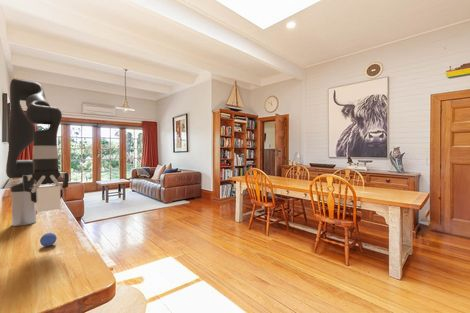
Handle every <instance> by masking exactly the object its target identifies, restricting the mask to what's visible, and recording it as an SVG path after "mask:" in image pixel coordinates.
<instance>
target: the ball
mask: <svg viewBox="0 0 470 313" xmlns="http://www.w3.org/2000/svg"><path fill="white" fill-rule="evenodd" d="M57 240H58V239H57V235H56V234H55V233H54V232H47V233H45V234H43V235H42V236H41V237H40V240H39V243H40V245H41V246H42V247H45V248H46V247H51V246H53V245H54V244H56V242H57Z"/></svg>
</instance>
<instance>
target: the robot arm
mask: <svg viewBox="0 0 470 313" xmlns="http://www.w3.org/2000/svg"><path fill="white" fill-rule="evenodd" d="M9 83H10V85H9V100H10V101H9V103H10V111H9V112H10V115H9V124H8V126H9V127H8V150H7V159H6V165H5V168H6V169H5V174H6V176H7V177H8V178H10V179H22V182H20V183H17V184H14V185H11V187H10V197H11V198H10V199H11V200H10V201H11V225H12V227H18V226H19V227H21V226H27V225H31V224H35V223H37V212H36V210H34V203H36V192H35V191H36V188H38V187H39V186H44V185H47V184H48V185H56V186H60V200H62V198H63V197H64V195H63V193H64V192H63V190H64V189H65V188H68V187H69V176H70V175H69V173H68V172H66V171H65V172H60V170H59V152H58V131H59V126H60V125H61V120H62V118H63V114H62V112H61V110H60V109H59V108H58V107H56V106H51V105H50V103H49V102H48V101H47V99H46V96H45V95H46V94H45V92H44V87H43V86H42V85H41V84H40V83H39V82H37V81H31V80H26V79H19V78H12V79H11V81H10V82H9ZM21 101H24V102H25V106H26V111H24V109H23V107H22V105H21ZM34 124H36V125H47V126H48V125H49V127H48V128H46V129H38V130H36V127H35V125H34ZM32 143H33V147H32V148H33V149H32V159H18V158H19V157H20V156H21V154H22V153H23V152H24V151H25V149H27V148H28V147H29V146H30V145H32ZM60 176H61V178H62V185H61V183H60V182H59V181H58V178H60Z"/></svg>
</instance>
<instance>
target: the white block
mask: <svg viewBox="0 0 470 313" xmlns="http://www.w3.org/2000/svg"><path fill="white" fill-rule="evenodd" d="M35 192H36V203H34V210H36V211H37V212H36V213H42V212H47V211H55V210H61V206H62V205H61V203H62V202H61V199H60V186H56V185H54V184H48V185H47V184H45V185H40V186H39V187H38V188H36V191H35Z"/></svg>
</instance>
